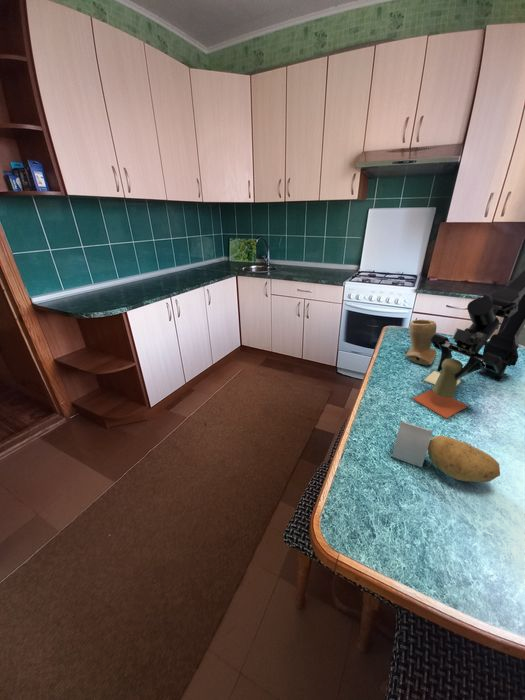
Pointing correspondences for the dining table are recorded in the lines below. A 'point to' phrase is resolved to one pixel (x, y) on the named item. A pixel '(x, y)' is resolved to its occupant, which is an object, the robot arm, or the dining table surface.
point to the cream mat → (435, 378)
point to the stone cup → (421, 341)
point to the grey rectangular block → (412, 443)
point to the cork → (447, 378)
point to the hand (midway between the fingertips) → (446, 375)
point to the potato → (462, 460)
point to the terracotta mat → (440, 404)
